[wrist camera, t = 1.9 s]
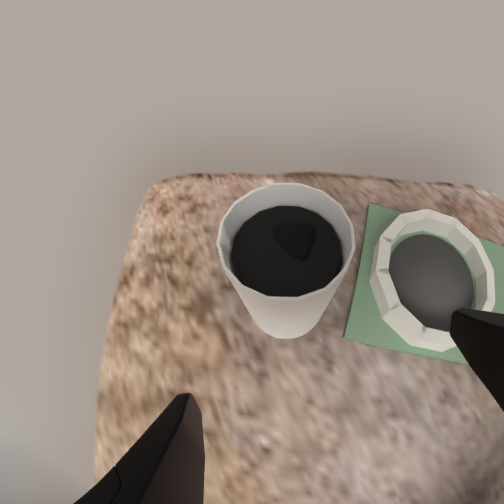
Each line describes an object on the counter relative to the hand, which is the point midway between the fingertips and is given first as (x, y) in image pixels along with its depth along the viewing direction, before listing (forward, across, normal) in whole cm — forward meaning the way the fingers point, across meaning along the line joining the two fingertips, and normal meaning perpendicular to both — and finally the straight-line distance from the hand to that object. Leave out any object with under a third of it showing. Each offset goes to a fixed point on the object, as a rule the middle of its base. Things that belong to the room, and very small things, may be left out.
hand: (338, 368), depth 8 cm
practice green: (+11, -16, +7) cm, 20 cm away
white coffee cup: (+14, 0, +4) cm, 14 cm away
